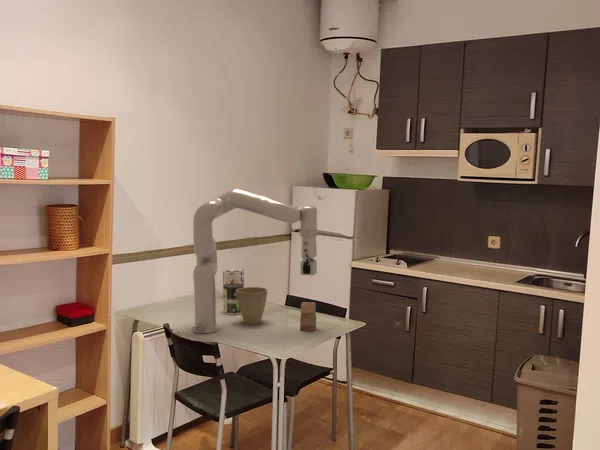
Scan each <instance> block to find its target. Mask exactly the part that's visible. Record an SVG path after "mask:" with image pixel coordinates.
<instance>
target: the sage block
mask: <svg viewBox="0 0 600 450" xmlns="http://www.w3.org/2000/svg"><path fill="white" fill-rule="evenodd" d="M307 261H308V260H307ZM317 261H318V260H316V259H314V260H310V264H309V265H310V274H303V260H301V261H300V276H315V275H316V274H317V273H318V272H317V271H318V269H317V265H318V263H317Z"/></svg>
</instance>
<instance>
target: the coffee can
mask: <svg viewBox="0 0 600 450" xmlns="http://www.w3.org/2000/svg"><path fill="white" fill-rule="evenodd" d="M240 288H243V285H242V284H225V285H223V284H222V292H223V294H224V299H223V314H225V315H233V316H234V315H235V316H237V315H242V314H241V311H240V308H239V304H238V299H237V293H236V290H237V289H240ZM223 294H222V295H223Z"/></svg>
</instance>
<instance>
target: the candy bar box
mask: <svg viewBox="0 0 600 450" xmlns="http://www.w3.org/2000/svg"><path fill="white" fill-rule="evenodd" d="M244 275H245V270H244V269H241V268H239V269H238V268H237V269H236V268H233V269H231V268H230V269H229V268H228V269H227V268H225V269H223V270H222V283H223V284H222V286H223V285H225V284H242V285H243V288H245V276H244ZM222 299H223V300H224V294H222Z"/></svg>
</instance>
